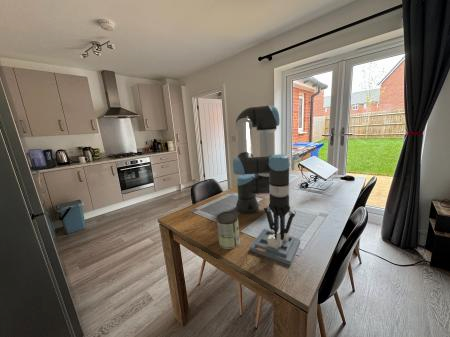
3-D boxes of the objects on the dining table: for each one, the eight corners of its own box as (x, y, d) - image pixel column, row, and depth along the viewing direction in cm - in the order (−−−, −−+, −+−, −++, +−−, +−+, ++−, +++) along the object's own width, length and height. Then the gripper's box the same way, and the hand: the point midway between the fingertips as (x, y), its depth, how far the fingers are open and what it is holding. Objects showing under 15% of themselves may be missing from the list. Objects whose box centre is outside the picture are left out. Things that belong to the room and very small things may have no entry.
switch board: (249, 250, 82) (249, 244, 81) (263, 232, 95) (263, 226, 94) (290, 265, 72) (290, 258, 71) (300, 242, 85) (300, 236, 84)
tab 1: (267, 247, 80) (267, 236, 79) (270, 244, 82) (270, 232, 81) (276, 250, 78) (276, 239, 76) (279, 246, 80) (278, 235, 79)
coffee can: (218, 237, 94) (216, 212, 91) (238, 235, 94) (236, 210, 91) (218, 250, 84) (216, 223, 81) (241, 248, 84) (239, 221, 81)
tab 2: (278, 240, 84) (278, 229, 83) (280, 237, 86) (280, 226, 85) (287, 243, 82) (287, 232, 80) (289, 239, 84) (289, 228, 83)
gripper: (260, 194, 73) (261, 245, 79) (293, 200, 66) (292, 255, 71) (267, 188, 79) (268, 236, 85) (298, 192, 72) (297, 244, 77)
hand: (279, 244), depth 78 cm, fingers closed
